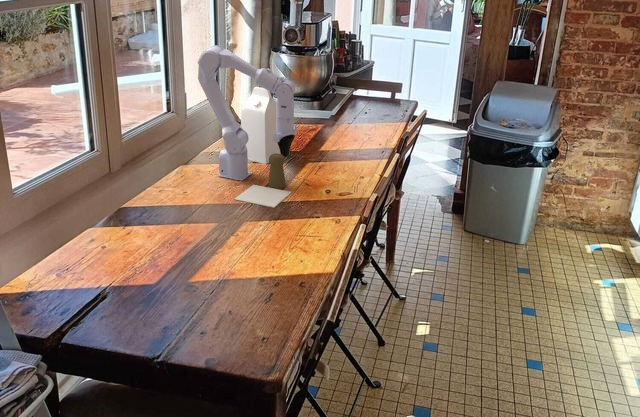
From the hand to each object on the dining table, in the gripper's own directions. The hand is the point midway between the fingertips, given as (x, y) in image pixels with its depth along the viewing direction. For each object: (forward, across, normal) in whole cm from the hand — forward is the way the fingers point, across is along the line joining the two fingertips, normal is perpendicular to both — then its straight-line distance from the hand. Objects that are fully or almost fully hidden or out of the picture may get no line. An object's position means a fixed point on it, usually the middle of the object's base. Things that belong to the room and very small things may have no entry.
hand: (284, 156), depth 209 cm
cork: (+9, -6, 0) cm, 11 cm away
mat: (+8, -16, 0) cm, 18 cm away
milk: (+9, +17, +17) cm, 25 cm away
